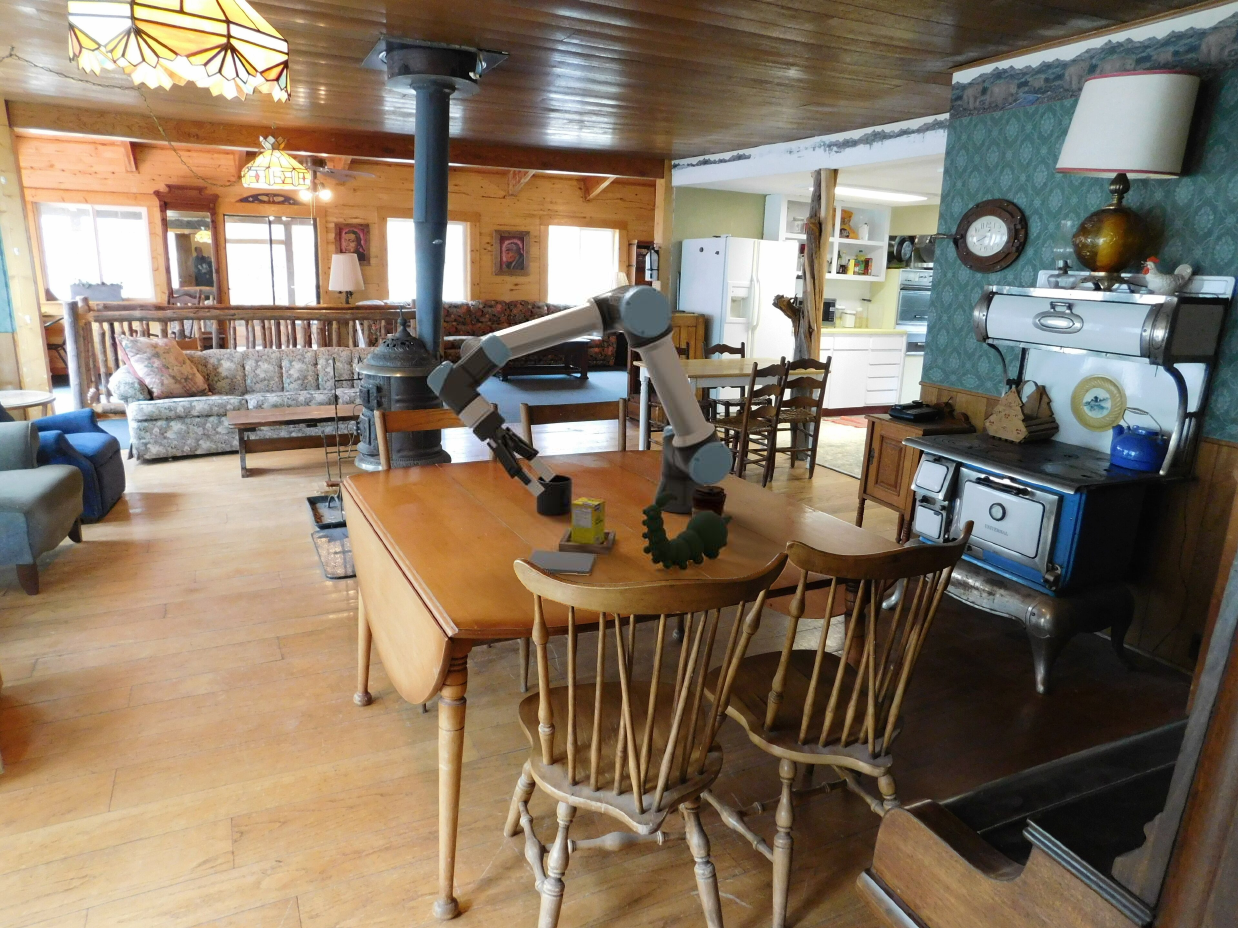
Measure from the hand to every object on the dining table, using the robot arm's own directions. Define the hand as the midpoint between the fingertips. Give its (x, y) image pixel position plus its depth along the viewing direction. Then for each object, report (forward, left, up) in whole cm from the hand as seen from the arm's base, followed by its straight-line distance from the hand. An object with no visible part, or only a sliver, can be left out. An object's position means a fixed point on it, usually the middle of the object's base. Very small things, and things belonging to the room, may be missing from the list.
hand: (546, 485), depth 185 cm
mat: (-6, +14, -14) cm, 21 cm away
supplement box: (-10, 0, -14) cm, 17 cm away
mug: (+2, -25, -14) cm, 29 cm away
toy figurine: (-34, +8, -14) cm, 38 cm away
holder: (-10, 0, -14) cm, 17 cm away
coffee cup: (-38, -10, -14) cm, 42 cm away
